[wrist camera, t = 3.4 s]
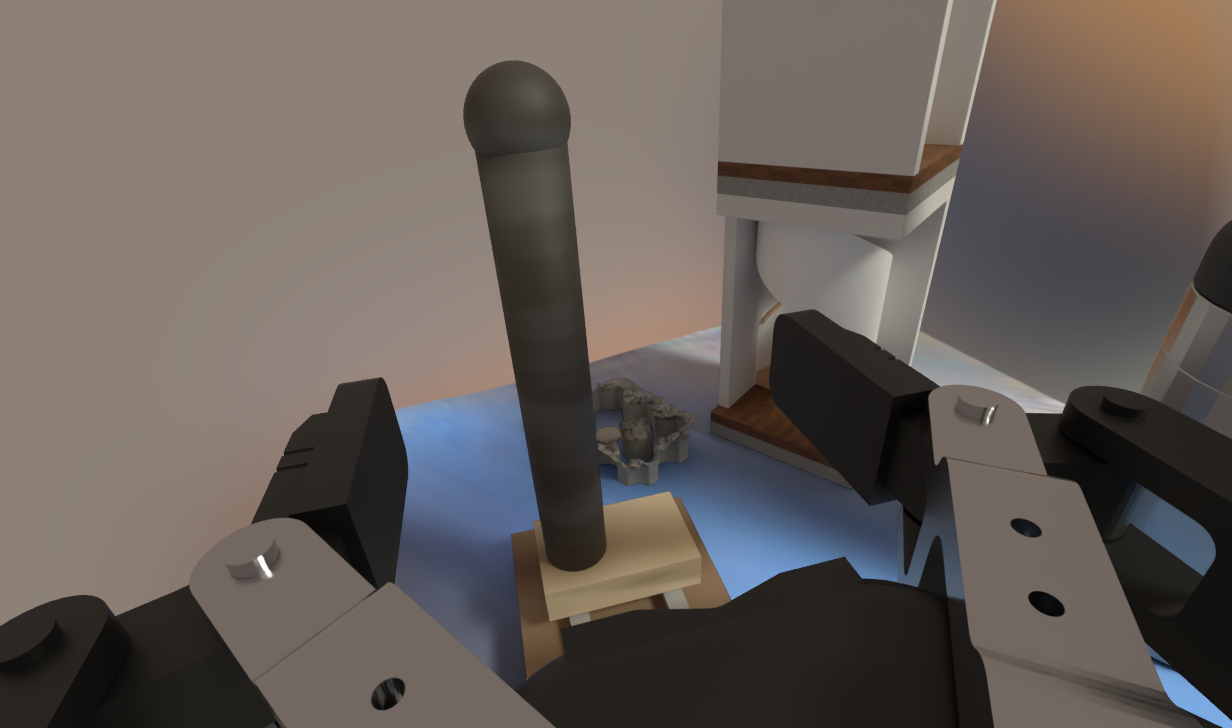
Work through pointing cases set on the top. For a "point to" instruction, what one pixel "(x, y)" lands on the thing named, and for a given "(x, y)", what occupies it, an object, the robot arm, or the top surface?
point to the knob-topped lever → (560, 356)
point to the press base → (546, 635)
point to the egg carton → (640, 431)
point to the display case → (833, 181)
